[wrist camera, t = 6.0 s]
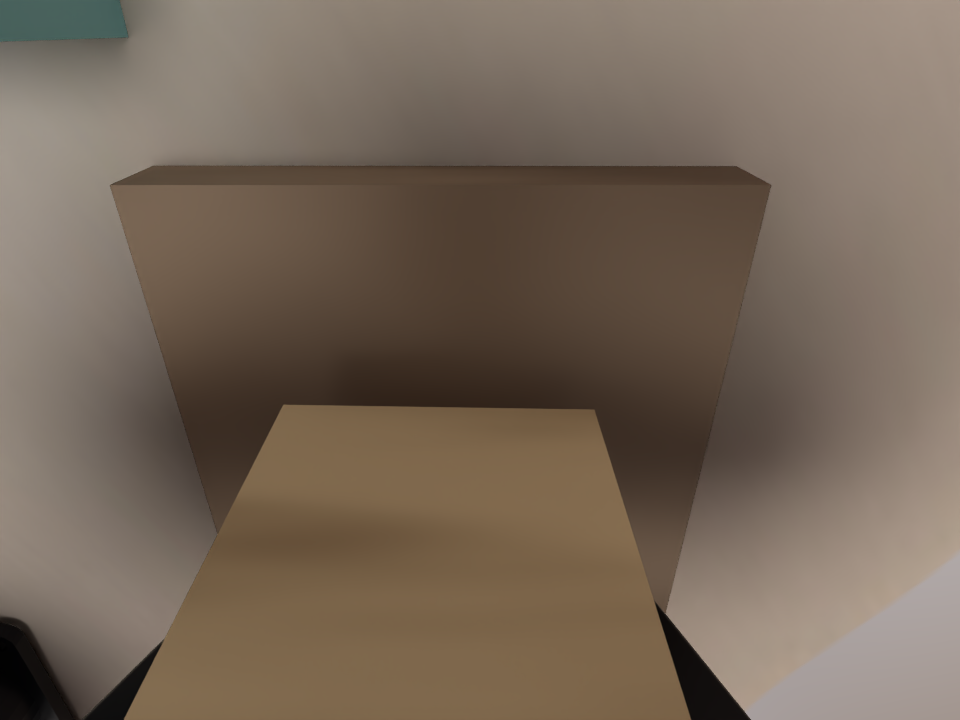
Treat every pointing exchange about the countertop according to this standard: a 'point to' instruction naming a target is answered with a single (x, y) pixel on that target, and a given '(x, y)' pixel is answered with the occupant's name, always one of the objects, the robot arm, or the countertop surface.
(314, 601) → the oak block
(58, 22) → the teal block
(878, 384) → the countertop surface
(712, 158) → the countertop surface
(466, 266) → the walnut board
